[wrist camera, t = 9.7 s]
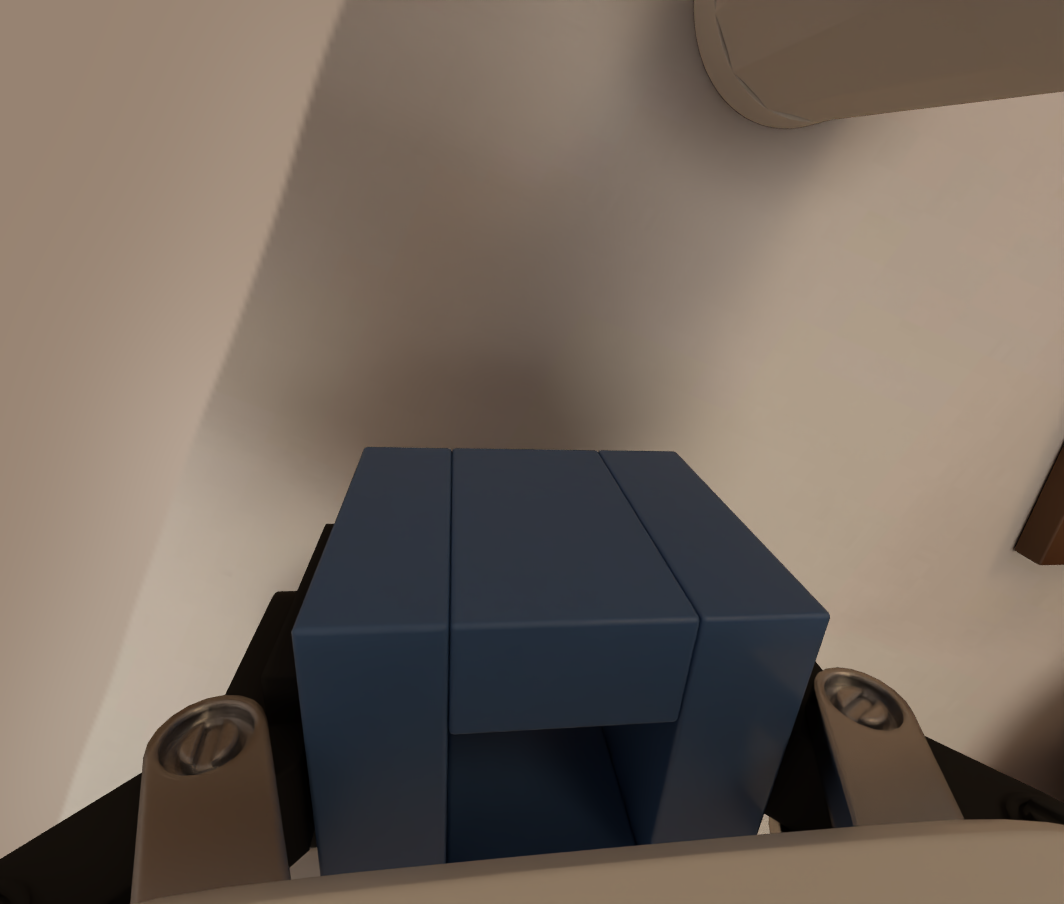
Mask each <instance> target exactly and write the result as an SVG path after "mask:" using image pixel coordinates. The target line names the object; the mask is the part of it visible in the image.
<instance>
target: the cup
mask: <svg viewBox="0 0 1064 904" xmlns="http://www.w3.org/2000/svg"><path fill="white" fill-rule="evenodd" d="M694 22H695V31H696V38H697V43H698V47H699V51H700V55H701V58H702V61H703V64H704V66H705V69H706V71H707V73H708V75H709V78H710V79H711V81H712V83H713V85H714V86H715V88H716V89H717V91H718V92H719V94H720V95H721V96H722V97H723V99H724V100H725V101H726V102H727V103H728V104H729V105H730V106H731V107H732V108H733V109H734V110H736V111H737V112H738V113H740V114H741V115H743V116H744V117H746V118H747V119H749V120H751V121H753V122H756V123H758V124H761V125H764V126H768V127H773V128H783V129H788V128H799V127H805V126H809V125H813V124H816V123H820V122H824V121H828V120H833V119H841V118H850V117H858V116H866V115H874V114H882V113H891V112H899V111H907V110H915V109H924V108H932V107H940V106H948V105H956V104H965V103H973V102H981V101H989V100H997V99H1006V98H1014V97H1022V96H1030V95H1038V94H1047V93H1055V92H1063V91H1064V0H694Z"/></svg>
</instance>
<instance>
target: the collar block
mask: <svg viewBox="0 0 1064 904" xmlns="http://www.w3.org/2000/svg"><path fill="white" fill-rule="evenodd" d="M829 619H830V615H829V613H828V612H827V611H826V609H825V608H824V607H823V606H822V605H821V604H820V603H819V602H818V601H817V600H816V599H815V598H814V597H813V596H812V595H811V594H810V593H809V592H808V591H807V590H806V588H805V587H804V586H803V585H802V584H801V583H800V582H799V581H798V580H797V579H796V578H795V577H794V576H793V575H792V574H791V573H790V572H789V571H788V570H787V568H786V567H785V566H784V565H783V564H782V563H781V562H780V561H779V560H778V559H777V558H776V557H775V556H774V555H773V554H772V553H771V552H770V551H769V550H768V549H767V547H766V546H765V545H764V544H763V543H762V542H761V541H760V540H759V539H758V538H757V537H756V536H755V535H754V534H753V533H752V532H751V531H750V530H749V529H748V528H747V526H746V525H745V524H744V523H743V522H742V521H741V520H740V519H739V518H738V517H737V516H736V515H735V514H734V513H733V512H732V511H731V510H730V509H729V508H728V506H727V505H726V504H725V503H724V502H723V501H722V500H721V499H720V498H719V497H718V496H717V495H716V494H715V493H714V492H713V491H712V490H711V489H710V488H709V487H708V485H707V484H706V483H705V482H704V481H703V480H702V479H701V478H700V477H699V476H698V475H697V474H696V473H695V472H694V471H693V470H692V469H691V468H690V467H689V465H688V464H687V463H686V462H685V461H684V460H683V459H682V458H681V457H680V456H679V455H678V454H677V453H676V452H672V451H608V450H601V451H599V452H597V451H595V450H534V449H470V448H455V449H453V451H451V449H448V448H398V447H366V448H364V450H363V453H362V455H361V458H360V460H359V463H358V465H357V468H356V470H355V473H354V475H353V478H352V481H351V483H350V486H349V488H348V491H347V493H346V496H345V498H344V501H343V503H342V506H341V508H340V511H339V513H338V516H337V518H336V521H335V523H334V526H333V528H332V531H331V533H330V536H329V538H328V541H327V543H326V546H325V549H324V551H323V554H322V556H321V559H320V561H319V564H318V566H317V569H316V571H315V574H314V576H313V579H312V581H311V584H310V586H309V589H308V591H307V594H306V596H305V599H304V601H303V604H302V606H301V609H300V611H299V614H298V617H297V619H296V622H295V624H294V627H293V629H292V632H291V634H292V642H293V651H294V659H295V668H296V676H297V684H298V693H299V701H300V710H301V718H302V726H303V735H304V743H305V751H306V760H307V768H308V777H309V785H310V793H311V802H312V810H313V818H314V827H315V835H316V844H317V852H318V860H319V869H320V876H327V875H336V874H344V873H354V872H364V871H374V870H385V869H395V868H405V867H416V866H426V865H436V864H446V863H457V862H467V861H477V860H487V859H498V858H508V857H518V856H529V855H539V854H550V853H561V852H572V851H583V850H594V849H604V848H615V847H626V846H637V845H648V844H659V843H670V842H681V841H692V840H703V839H715V838H726V837H738V836H749V835H757V833H758V830H759V827H760V824H761V821H762V818H763V815H764V812H765V809H766V806H767V803H768V800H769V797H770V794H771V792H772V789H773V786H774V783H775V780H776V777H777V774H778V771H779V768H780V765H781V762H782V759H783V756H784V753H785V750H786V747H787V744H788V741H789V738H790V735H791V732H792V729H793V726H794V723H795V720H796V717H797V714H798V711H799V708H800V705H801V702H802V699H803V696H804V693H805V690H806V687H807V684H808V681H809V678H810V676H811V673H812V670H813V667H814V664H815V661H816V658H817V655H818V652H819V649H820V646H821V643H822V640H823V637H824V634H825V631H826V628H827V625H828V622H829Z"/></svg>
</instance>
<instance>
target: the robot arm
mask: <svg viewBox="0 0 1064 904" xmlns="http://www.w3.org/2000/svg"><path fill="white" fill-rule="evenodd" d="M333 526H334V524H326V525H325V527H324V529H323V532H322V534H321V536H320V539H319V541H318V543H317V546H316V548H315V550H314V553H313V555H312V557H311V560H310V562H309V565H308V567H307V569H306V572H305V574H304V576H303V579H302V581H301V583H300V586H299V588H298V590H297V591H281V592H277V593H275V594H274V596H273V597H272V599H271V601H270V603H269V605H268V607H267V609H266V611H265V613H264V616H263V618H262V620H261V622H260V624H259V626H258V628H257V630H256V632H255V634H254V636H253V638H252V640H251V642H250V645H249V647H248V649H247V651H246V653H245V655H244V657H243V659H242V661H241V663H240V665H239V667H238V669H237V671H236V673H235V676H234V678H233V680H232V682H231V684H230V686H229V688H228V690H227V692H226V694H225V695H223V696H218V697H213V698H207V699H205V700H202V701H200V702H197V703H195V704H192V705H189V706H188V707H186V708H184V709H183V710H181V711H180V712H178V713H176V714H175V715H173V716H172V717H170V718H169V719H168V720H167V721H166V722H165V723H164V724H163V725H162V726H161V727H159V728H158V729H157V731H156V732H155V734H154V735H153V737H152V738H151V739H150V741H149V742H148V744H147V747H146V751H145V754H144V757H143V767H142V773H140V774H139V775H137V776H135V777H134V778H132V779H131V780H129V781H127V782H126V783H124V784H122V785H121V786H119V787H117V788H116V789H114V790H113V791H111V792H109V793H108V794H106V795H104V796H103V797H101V798H99V799H98V800H96V801H95V802H93V803H91V804H90V805H88V806H86V807H85V808H83V809H81V810H80V811H78V812H77V813H75V814H73V815H72V816H70V817H68V818H67V819H65V820H63V821H62V822H60V823H59V824H57V825H55V826H54V827H52V828H50V829H49V830H47V831H45V832H44V833H42V834H41V835H39V836H37V837H36V838H34V839H32V840H31V841H29V842H28V843H26V844H24V845H23V846H21V847H19V848H18V849H16V850H14V851H13V852H11V853H9V854H8V855H6V856H5V857H3V858H1V859H0V904H1064V804H1063V803H1062V802H1060V801H1058V800H1056V799H1055V798H1053V797H1051V796H1049V795H1047V794H1045V793H1043V792H1041V791H1039V790H1037V789H1035V788H1032V787H1030V786H1028V785H1026V784H1024V783H1022V782H1020V781H1018V780H1016V779H1014V778H1011V777H1009V776H1007V775H1005V774H1003V773H1001V772H999V771H997V770H995V769H993V768H991V767H988V766H986V765H984V764H982V763H980V762H978V761H976V760H974V759H972V758H970V757H967V756H965V755H963V754H961V753H959V752H957V751H955V750H953V749H951V748H949V747H947V746H944V745H942V744H940V743H938V742H936V741H934V740H932V739H930V738H928V737H926V736H924V734H923V732H922V730H921V728H920V726H919V723H918V721H917V719H916V717H915V715H914V713H913V711H912V710H911V708H910V707H909V705H908V704H907V702H906V701H905V700H904V699H903V698H902V697H901V696H900V695H899V694H898V693H897V692H896V691H895V690H893V689H892V688H890V687H889V686H887V685H886V684H885V683H883V682H882V681H880V680H878V679H876V678H874V677H872V676H870V675H868V674H866V673H862V672H859V671H856V670H853V669H847V668H839V667H836V668H828V669H825V670H822V669H821V668H820V666H819V665H818V664H817V663H816V662H815V664H814V667H813V670H812V673H811V676H810V678H809V681H808V684H807V687H806V690H805V693H804V696H803V699H802V702H801V705H800V708H799V711H798V714H797V717H796V720H795V723H794V726H793V729H792V732H791V735H790V738H789V741H788V744H787V747H786V750H785V753H784V756H783V759H782V762H781V765H780V768H779V771H778V774H777V777H776V780H775V783H774V786H773V789H772V792H771V794H770V797H769V800H768V803H767V806H766V809H765V812H764V814H766V815H768V816H769V830H770V834H761V835H749V836H738V837H726V838H715V839H703V840H692V841H681V842H670V843H659V844H648V845H637V846H626V847H615V848H604V849H594V850H583V851H572V852H561V853H550V854H539V855H529V856H518V857H508V858H498V859H487V860H477V861H467V862H457V863H446V864H436V865H426V866H416V867H405V868H395V869H385V870H374V871H364V872H354V873H344V874H336V875H327V876H318V877H310V878H301V879H292V880H291V874H290V867H291V866H292V865H293V864H295V863H296V862H297V861H298V860H299V859H300V858H301V857H302V856H304V855H305V854H306V853H307V852H308V851H309V850H310V848H316V847H317V844H316V835H315V827H314V818H313V810H312V802H311V793H310V785H309V777H308V768H307V760H306V751H305V743H304V735H303V726H302V718H301V710H300V701H299V693H298V684H297V676H296V668H295V659H294V651H293V642H292V634H291V632H292V629H293V627H294V624H295V622H296V619H297V617H298V614H299V611H300V609H301V606H302V604H303V601H304V599H305V596H306V594H307V591H308V589H309V586H310V584H311V581H312V579H313V576H314V574H315V571H316V569H317V566H318V564H319V561H320V559H321V556H322V554H323V551H324V549H325V546H326V543H327V541H328V538H329V536H330V533H331V531H332V528H333Z"/></svg>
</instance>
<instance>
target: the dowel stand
mask: <svg viewBox="0 0 1064 904" xmlns="http://www.w3.org/2000/svg"><path fill="white" fill-rule="evenodd" d="M1015 551H1017V552H1018V553H1020V554H1022V555H1023V556H1025V557H1027V558H1028V559H1030V560H1032V561H1033V562H1035V563H1037V564H1038V565H1064V445H1063V447H1062V450H1061V452H1060V454H1059V456H1058V458H1057V460H1056V462H1055V464H1054V466H1053V469H1052V471H1051V473H1050V475H1049V477H1048V479H1047V481H1046V483H1045V485H1044V488H1043V490H1042V492H1041V494H1040V496H1039V498H1038V500H1037V502H1036V504H1035V507H1034V509H1033V511H1032V513H1031V515H1030V517H1029V519H1028V521H1027V523H1026V526H1025V528H1024V530H1023V532H1022V534H1021V536H1020V538H1019V540H1018V542H1017V545H1016V547H1015Z"/></svg>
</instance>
